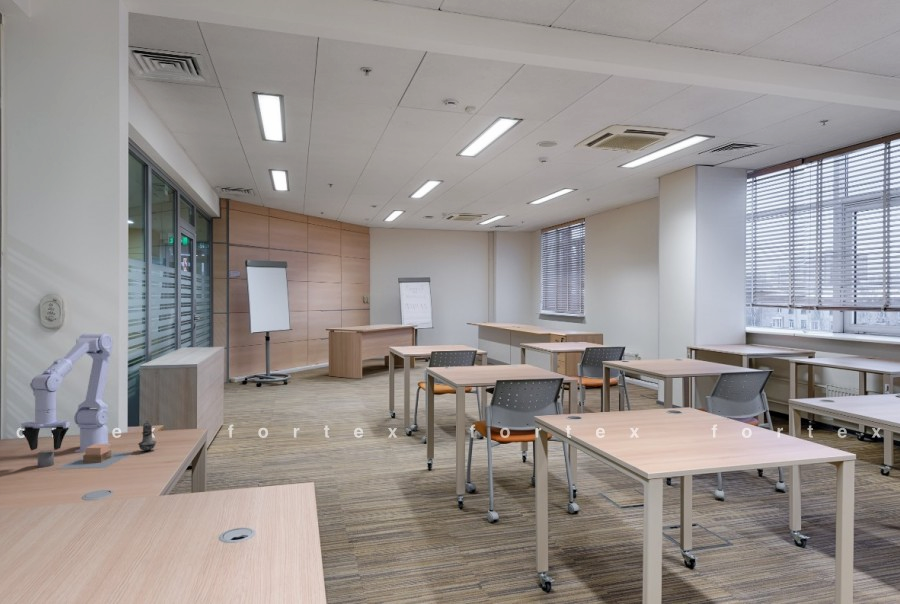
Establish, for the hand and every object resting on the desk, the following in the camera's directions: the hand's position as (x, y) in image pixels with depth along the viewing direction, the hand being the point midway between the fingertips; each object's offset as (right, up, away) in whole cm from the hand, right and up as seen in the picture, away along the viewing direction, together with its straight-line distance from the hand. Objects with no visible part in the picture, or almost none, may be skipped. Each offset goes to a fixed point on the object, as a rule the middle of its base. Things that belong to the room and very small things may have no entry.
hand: (45, 449), depth 177 cm
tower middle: (+14, -3, +6) cm, 15 cm away
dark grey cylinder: (0, -6, 0) cm, 6 cm away
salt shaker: (+25, -6, +17) cm, 31 cm away
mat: (+14, -6, +6) cm, 16 cm away
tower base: (+14, -6, +6) cm, 16 cm away
